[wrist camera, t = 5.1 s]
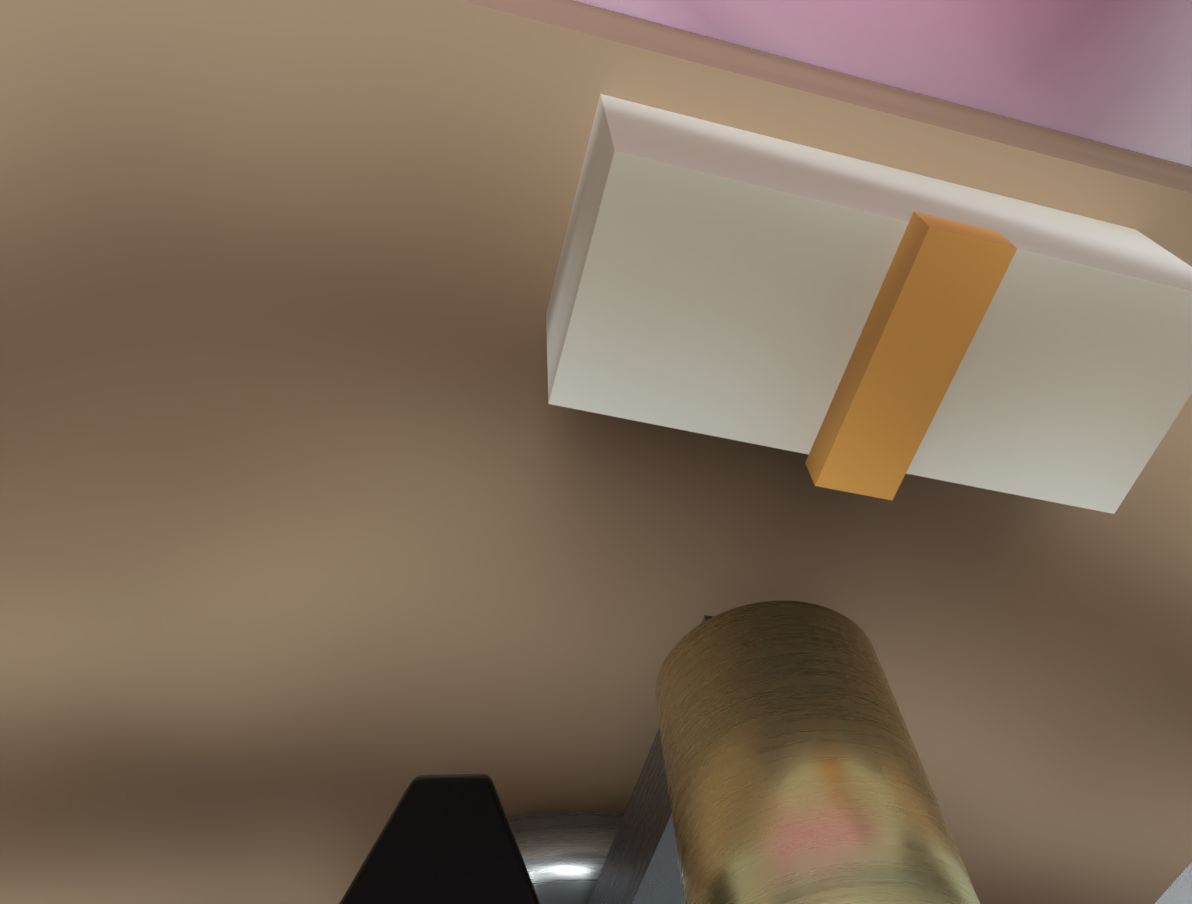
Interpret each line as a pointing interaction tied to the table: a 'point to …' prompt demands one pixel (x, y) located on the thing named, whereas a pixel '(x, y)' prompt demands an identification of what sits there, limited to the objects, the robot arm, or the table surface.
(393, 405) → the stand
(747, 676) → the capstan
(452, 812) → the robot arm
